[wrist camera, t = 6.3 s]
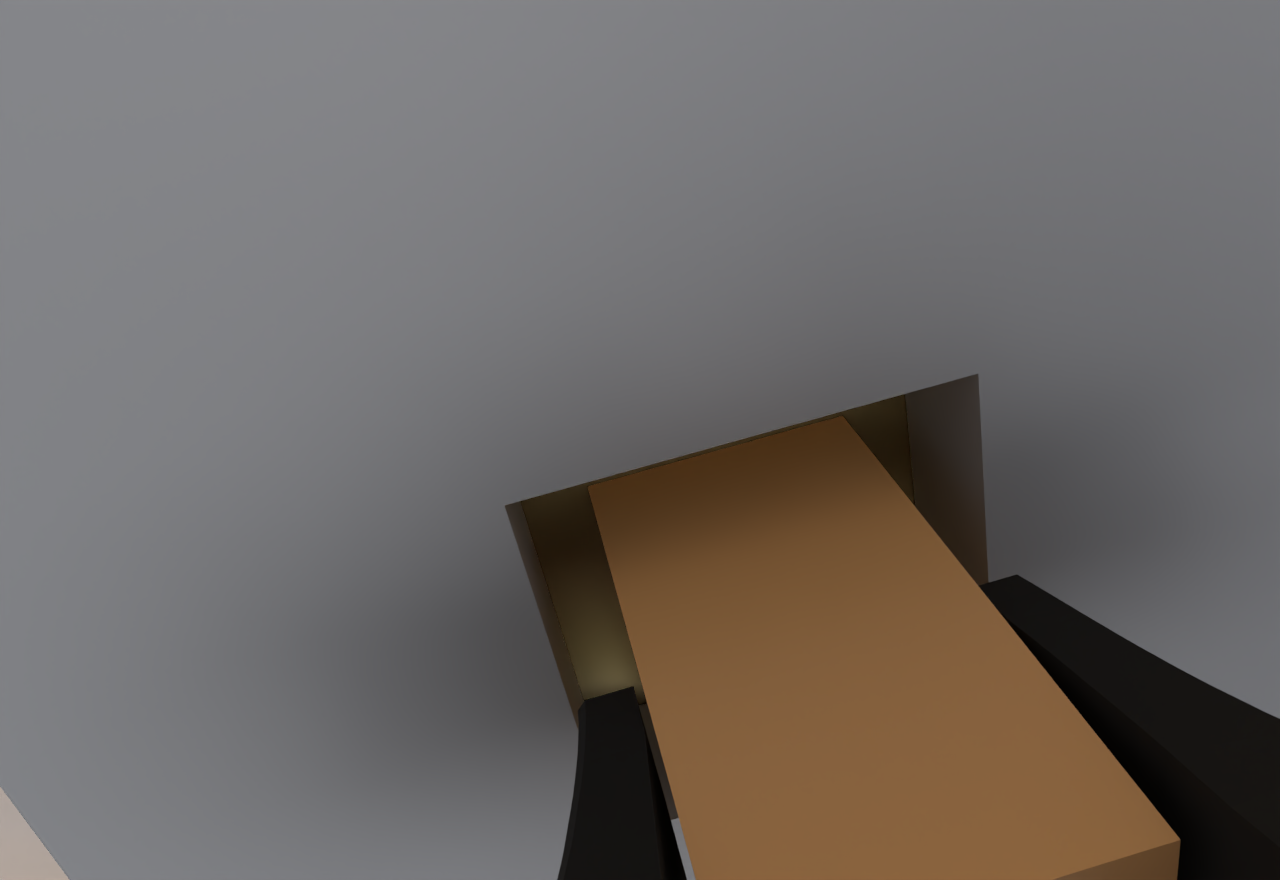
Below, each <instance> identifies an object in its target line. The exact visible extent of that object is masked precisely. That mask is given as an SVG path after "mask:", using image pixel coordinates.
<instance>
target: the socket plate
mask: <svg viewBox="0 0 1280 880" xmlns="http://www.w3.org/2000/svg"><path fill="white" fill-rule="evenodd" d="M903 394H905V399H906V411H907V422H908V433H909V444H910V455H911V467H912V478H913V489H914V500H915V507H916V508H917V510H918V511H919V512H920V513H921V515H922V516H923V517H924V518H925V520H926V521H927V522H928V523H929V525H930V526H931V527H932V528H933V530H934V531H935V532H936V533H937V535H938V536H939V537H940V538H941V540H942V541H943V542H944V543H945V545H946V546H947V547H948V548H949V550H950V551H951V552H952V554H953V555H954V556H955V557H956V559H957V560H958V561H959V562H960V564H961V565H962V566H963V567H964V569H965V570H966V571H967V572H968V574H969V575H970V576H971V577H972V579H973V580H974V581H975V582H976V584H977V585H978V586H979V585H982V584H986V583H989V582H992V581H996V580H999V579H1003V578H1006V577H1010V576H1013V575H1016V574H1017V575H1019V576H1021V577H1022V578H1024V579H1026V580H1028V581H1029V582H1031V583H1033V584H1034V585H1036V586H1038V587H1039V588H1041V589H1043V590H1044V591H1046V592H1048V593H1049V594H1051V595H1053V596H1054V597H1056V598H1058V599H1059V600H1061V601H1063V602H1064V603H1066V604H1068V605H1069V606H1071V607H1073V608H1074V609H1076V610H1078V611H1079V612H1081V613H1083V614H1084V615H1086V616H1088V617H1090V618H1091V619H1093V620H1095V621H1096V622H1098V623H1100V624H1101V625H1103V626H1105V627H1106V628H1108V629H1110V630H1112V631H1113V632H1115V633H1117V634H1118V635H1120V636H1122V637H1124V638H1125V639H1127V640H1129V641H1131V642H1132V643H1134V644H1136V645H1137V646H1139V647H1141V648H1143V649H1145V650H1146V651H1148V652H1150V653H1152V654H1154V655H1155V656H1157V657H1159V658H1161V659H1163V660H1165V661H1166V662H1168V663H1170V664H1172V665H1174V666H1175V667H1177V668H1179V669H1181V670H1183V671H1185V672H1186V673H1188V674H1190V675H1192V676H1194V677H1196V678H1198V679H1200V680H1202V681H1204V682H1206V683H1207V684H1209V685H1211V686H1213V687H1215V688H1217V689H1219V690H1221V691H1223V692H1225V693H1227V694H1230V695H1232V696H1234V697H1236V698H1238V699H1240V700H1242V701H1244V702H1246V703H1248V704H1250V705H1252V706H1254V707H1256V708H1258V709H1260V710H1262V711H1264V712H1266V713H1268V714H1270V715H1273V716H1275V717H1277V718H1279V719H1280V0H0V787H1V788H2V789H3V791H4V792H5V793H6V795H7V796H8V797H9V799H10V800H11V801H12V803H13V804H14V805H15V807H16V808H17V809H18V811H19V812H20V813H21V815H22V816H23V818H24V819H25V820H26V822H27V823H28V824H29V826H30V827H31V828H32V830H33V831H34V832H35V834H36V835H37V836H38V838H39V839H40V840H41V842H42V843H43V844H44V846H45V847H46V848H47V850H48V851H49V853H50V854H51V855H52V857H53V858H54V859H55V861H56V862H57V863H58V865H59V866H60V867H61V869H62V870H63V871H64V873H65V874H66V875H67V877H68V878H69V879H70V880H557V878H558V874H559V870H560V866H561V861H562V856H563V851H564V846H565V840H566V834H567V828H568V822H569V817H570V811H571V805H572V799H573V791H574V783H575V774H576V765H577V754H578V731H579V724H578V709H579V708H580V707H581V705H582V704H583V702H584V700H583V697H582V694H581V691H580V688H579V685H578V681H577V678H576V675H575V672H574V669H573V666H572V663H571V659H570V656H569V653H568V650H567V647H566V644H565V641H564V638H563V634H562V631H561V628H560V625H559V622H558V619H557V616H556V612H555V609H554V606H553V603H552V600H551V597H550V594H549V590H548V587H547V584H546V581H545V578H544V575H543V572H542V568H541V565H540V562H539V559H538V556H537V553H536V550H535V546H534V543H533V540H532V537H531V534H530V531H529V528H528V524H527V521H526V518H525V515H524V512H523V509H522V506H521V502H520V501H523V500H526V499H530V498H533V497H537V496H540V495H544V494H548V493H551V492H555V491H558V490H562V489H566V488H569V487H573V486H576V485H580V484H584V483H587V482H591V481H594V480H598V479H601V478H605V477H609V476H612V475H616V474H619V473H623V472H627V471H630V470H634V469H637V468H641V467H645V466H648V465H652V464H655V463H659V462H662V461H666V460H670V459H673V458H677V457H680V456H684V455H688V454H691V453H695V452H698V451H702V450H705V449H709V448H713V447H716V446H720V445H723V444H727V443H731V442H734V441H738V440H741V439H745V438H749V437H752V436H756V435H759V434H763V433H766V432H770V431H774V430H777V429H781V428H784V427H788V426H792V425H795V424H799V423H802V422H806V421H810V420H813V419H817V418H820V417H824V416H827V415H831V414H835V413H838V412H842V411H845V410H849V409H853V408H856V407H860V406H863V405H867V404H871V403H874V402H878V401H881V400H885V399H888V398H892V397H896V396H899V395H903ZM639 708H640V712H641V715H642V719H643V723H644V726H645V730H646V733H647V737H648V740H649V744H650V747H651V751H652V754H653V758H654V761H655V765H656V768H657V772H658V776H659V779H660V783H661V786H662V790H663V793H664V797H665V800H666V804H667V808H668V811H669V815H670V819H671V822H672V826H673V830H674V833H675V837H676V841H677V845H678V848H679V852H680V856H681V859H682V863H683V867H684V870H685V874H686V878H687V880H696V879H695V875H694V871H693V868H692V864H691V861H690V857H689V853H688V850H687V846H686V842H685V839H684V835H683V832H682V828H681V824H680V821H679V817H678V813H677V810H676V806H675V803H674V799H673V795H672V792H671V788H670V784H669V781H668V777H667V773H666V770H665V766H664V763H663V759H662V755H661V752H660V748H659V744H658V741H657V737H656V734H655V730H654V726H653V723H652V719H651V715H650V712H649V708H648V705H647V703H646V704H643V705H639Z"/></svg>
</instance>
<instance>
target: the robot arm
mask: <svg viewBox="0 0 1280 880" xmlns="http://www.w3.org/2000/svg"><path fill="white" fill-rule="evenodd" d="M979 587H980V589H981V590H982V591H983V592H984V594H985V595H986V596H987V597H988V599H989V600H990V601H991V602H992V604H993V605H994V606H995V607H996V609H997V610H998V611H999V612H1000V614H1001V615H1002V616H1003V617H1004V619H1005V620H1006V621H1007V623H1008V624H1009V625H1010V626H1011V628H1012V629H1013V630H1014V631H1015V633H1016V634H1017V635H1018V636H1019V638H1020V639H1021V640H1022V641H1023V643H1024V644H1025V645H1026V646H1027V648H1028V649H1029V650H1030V651H1031V653H1032V654H1033V655H1034V656H1035V658H1036V659H1037V660H1038V661H1039V663H1040V664H1041V665H1042V666H1043V668H1044V669H1045V670H1046V671H1047V673H1048V674H1049V675H1050V676H1051V678H1052V679H1053V680H1054V681H1055V683H1056V684H1057V685H1058V686H1059V688H1060V689H1061V690H1062V692H1063V693H1064V694H1065V695H1066V697H1067V698H1068V699H1069V700H1070V702H1071V703H1072V704H1073V705H1074V707H1075V708H1076V709H1077V710H1078V712H1079V713H1080V714H1081V715H1082V717H1083V718H1084V719H1085V720H1086V722H1087V723H1088V724H1089V725H1090V727H1091V728H1092V729H1093V730H1094V732H1095V733H1096V734H1097V735H1098V737H1099V738H1100V739H1101V740H1102V742H1103V743H1104V744H1105V745H1106V747H1107V748H1108V749H1109V750H1110V752H1111V753H1112V754H1113V755H1114V757H1115V758H1116V759H1117V761H1118V762H1119V763H1120V764H1121V766H1122V767H1123V768H1124V769H1125V771H1126V772H1127V773H1128V774H1129V776H1130V777H1131V778H1132V779H1133V781H1134V782H1135V783H1136V784H1137V786H1138V787H1139V788H1140V789H1141V791H1142V792H1143V793H1144V794H1145V796H1146V797H1147V798H1148V799H1149V801H1150V802H1151V803H1152V804H1153V806H1154V807H1155V808H1156V809H1157V811H1158V812H1159V813H1160V814H1161V816H1162V817H1163V818H1164V819H1165V821H1166V822H1167V823H1168V824H1169V826H1170V827H1171V828H1172V830H1173V831H1174V832H1175V833H1176V835H1177V836H1178V837H1179V838H1180V840H1181V841H1180V852H1179V863H1178V873H1177V880H1280V719H1279V718H1277V717H1275V716H1273V715H1270V714H1268V713H1266V712H1264V711H1262V710H1260V709H1258V708H1256V707H1254V706H1252V705H1250V704H1248V703H1246V702H1244V701H1242V700H1240V699H1238V698H1236V697H1234V696H1232V695H1230V694H1227V693H1225V692H1223V691H1221V690H1219V689H1217V688H1215V687H1213V686H1211V685H1209V684H1207V683H1206V682H1204V681H1202V680H1200V679H1198V678H1196V677H1194V676H1192V675H1190V674H1188V673H1186V672H1185V671H1183V670H1181V669H1179V668H1177V667H1175V666H1174V665H1172V664H1170V663H1168V662H1166V661H1165V660H1163V659H1161V658H1159V657H1157V656H1155V655H1154V654H1152V653H1150V652H1148V651H1146V650H1145V649H1143V648H1141V647H1139V646H1137V645H1136V644H1134V643H1132V642H1131V641H1129V640H1127V639H1125V638H1124V637H1122V636H1120V635H1118V634H1117V633H1115V632H1113V631H1112V630H1110V629H1108V628H1106V627H1105V626H1103V625H1101V624H1100V623H1098V622H1096V621H1095V620H1093V619H1091V618H1090V617H1088V616H1086V615H1084V614H1083V613H1081V612H1079V611H1078V610H1076V609H1074V608H1073V607H1071V606H1069V605H1068V604H1066V603H1064V602H1063V601H1061V600H1059V599H1058V598H1056V597H1054V596H1053V595H1051V594H1049V593H1048V592H1046V591H1044V590H1043V589H1041V588H1039V587H1038V586H1036V585H1034V584H1033V583H1031V582H1029V581H1028V580H1026V579H1024V578H1022V577H1021V576H1019V575H1017V574H1016V575H1013V576H1010V577H1006V578H1003V579H999V580H996V581H992V582H989V583H986V584H982V585H979ZM578 724H579V731H578V754H577V765H576V774H575V783H574V791H573V799H572V805H571V811H570V817H569V822H568V828H567V834H566V840H565V846H564V851H563V856H562V861H561V866H560V870H559V874H558V878H557V880H687V878H686V874H685V870H684V867H683V863H682V859H681V856H680V852H679V848H678V845H677V841H676V837H675V833H674V830H673V826H672V822H671V819H670V815H669V811H668V808H667V804H666V800H665V797H664V793H663V790H662V786H661V783H660V779H659V776H658V772H657V768H656V765H655V761H654V758H653V754H652V751H651V747H650V744H649V740H648V737H647V733H646V730H645V726H644V723H643V719H642V715H641V712H640V708H639V705H638V701H637V698H636V694H635V691H634V687H630V688H626V689H623V690H619V691H616V692H613V693H609V694H606V695H602V696H599V697H595V698H592V699H589V700H585V701H584V702H583V704H582V705H581V707H580V708H579V709H578Z"/></svg>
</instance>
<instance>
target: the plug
mask: <svg viewBox="0 0 1280 880" xmlns="http://www.w3.org/2000/svg"><path fill="white" fill-rule="evenodd" d="M587 487H588V490H589V494H590V498H591V501H592V505H593V508H594V512H595V516H596V519H597V523H598V527H599V530H600V534H601V537H602V541H603V545H604V548H605V552H606V556H607V559H608V563H609V567H610V570H611V574H612V577H613V581H614V585H615V588H616V592H617V596H618V599H619V603H620V606H621V610H622V614H623V617H624V621H625V625H626V628H627V632H628V636H629V639H630V643H631V646H632V650H633V654H634V657H635V661H636V665H637V668H638V672H639V676H640V679H641V683H642V686H643V690H644V694H645V697H646V701H647V705H648V708H649V712H650V715H651V719H652V723H653V726H654V730H655V734H656V737H657V741H658V744H659V748H660V752H661V755H662V759H663V763H664V766H665V770H666V773H667V777H668V781H669V784H670V788H671V792H672V795H673V799H674V803H675V806H676V810H677V813H678V817H679V821H680V824H681V828H682V832H683V835H684V839H685V842H686V846H687V850H688V853H689V857H690V861H691V864H692V868H693V871H694V875H695V879H696V880H1177V873H1178V863H1179V852H1180V841H1181V840H1180V838H1179V837H1178V836H1177V835H1176V833H1175V832H1174V831H1173V830H1172V828H1171V827H1170V826H1169V824H1168V823H1167V822H1166V821H1165V819H1164V818H1163V817H1162V816H1161V814H1160V813H1159V812H1158V811H1157V809H1156V808H1155V807H1154V806H1153V804H1152V803H1151V802H1150V801H1149V799H1148V798H1147V797H1146V796H1145V794H1144V793H1143V792H1142V791H1141V789H1140V788H1139V787H1138V786H1137V784H1136V783H1135V782H1134V781H1133V779H1132V778H1131V777H1130V776H1129V774H1128V773H1127V772H1126V771H1125V769H1124V768H1123V767H1122V766H1121V764H1120V763H1119V762H1118V761H1117V759H1116V758H1115V757H1114V755H1113V754H1112V753H1111V752H1110V750H1109V749H1108V748H1107V747H1106V745H1105V744H1104V743H1103V742H1102V740H1101V739H1100V738H1099V737H1098V735H1097V734H1096V733H1095V732H1094V730H1093V729H1092V728H1091V727H1090V725H1089V724H1088V723H1087V722H1086V720H1085V719H1084V718H1083V717H1082V715H1081V714H1080V713H1079V712H1078V710H1077V709H1076V708H1075V707H1074V705H1073V704H1072V703H1071V702H1070V700H1069V699H1068V698H1067V697H1066V695H1065V694H1064V693H1063V692H1062V690H1061V689H1060V688H1059V686H1058V685H1057V684H1056V683H1055V681H1054V680H1053V679H1052V678H1051V676H1050V675H1049V674H1048V673H1047V671H1046V670H1045V669H1044V668H1043V666H1042V665H1041V664H1040V663H1039V661H1038V660H1037V659H1036V658H1035V656H1034V655H1033V654H1032V653H1031V651H1030V650H1029V649H1028V648H1027V646H1026V645H1025V644H1024V643H1023V641H1022V640H1021V639H1020V638H1019V636H1018V635H1017V634H1016V633H1015V631H1014V630H1013V629H1012V628H1011V626H1010V625H1009V624H1008V623H1007V621H1006V620H1005V619H1004V617H1003V616H1002V615H1001V614H1000V612H999V611H998V610H997V609H996V607H995V606H994V605H993V604H992V602H991V601H990V600H989V599H988V597H987V596H986V595H985V594H984V592H983V591H982V590H981V589H980V587H979V586H978V585H977V584H976V582H975V581H974V580H973V579H972V577H971V576H970V575H969V574H968V572H967V571H966V570H965V569H964V567H963V566H962V565H961V564H960V562H959V561H958V560H957V559H956V557H955V556H954V555H953V554H952V552H951V551H950V550H949V548H948V547H947V546H946V545H945V543H944V542H943V541H942V540H941V538H940V537H939V536H938V535H937V533H936V532H935V531H934V530H933V528H932V527H931V526H930V525H929V523H928V522H927V521H926V520H925V518H924V517H923V516H922V515H921V513H920V512H919V511H918V510H917V508H916V507H915V506H914V505H913V503H912V502H911V501H910V500H909V498H908V497H907V496H906V495H905V493H904V492H903V491H902V490H901V488H900V487H899V486H898V485H897V483H896V482H895V481H894V479H893V478H892V477H891V476H890V474H889V473H888V472H887V471H886V469H885V468H884V467H883V466H882V464H881V463H880V462H879V461H878V459H877V458H876V457H875V456H874V454H873V453H872V452H871V451H870V449H869V448H868V447H867V446H866V444H865V443H864V442H863V441H862V439H861V438H860V437H859V436H858V434H857V433H856V432H855V431H854V429H853V428H852V427H851V426H850V424H849V423H848V422H847V421H846V419H845V418H844V417H843V416H840V417H836V418H832V419H829V420H825V421H822V422H818V423H814V424H811V425H807V426H804V427H800V428H796V429H793V430H789V431H786V432H782V433H778V434H775V435H771V436H768V437H764V438H760V439H757V440H753V441H750V442H746V443H742V444H739V445H735V446H732V447H728V448H724V449H721V450H717V451H713V452H710V453H706V454H703V455H699V456H695V457H692V458H688V459H685V460H681V461H677V462H674V463H670V464H667V465H663V466H659V467H656V468H652V469H649V470H645V471H641V472H638V473H634V474H631V475H627V476H623V477H620V478H616V479H613V480H609V481H605V482H602V483H598V484H595V485H591V486H587Z"/></svg>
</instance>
